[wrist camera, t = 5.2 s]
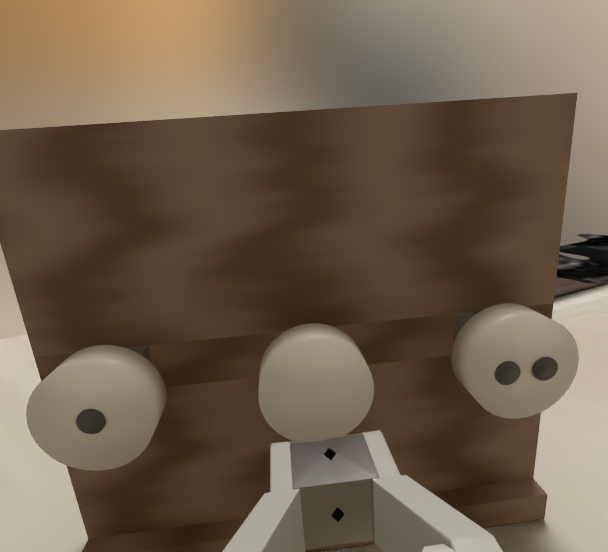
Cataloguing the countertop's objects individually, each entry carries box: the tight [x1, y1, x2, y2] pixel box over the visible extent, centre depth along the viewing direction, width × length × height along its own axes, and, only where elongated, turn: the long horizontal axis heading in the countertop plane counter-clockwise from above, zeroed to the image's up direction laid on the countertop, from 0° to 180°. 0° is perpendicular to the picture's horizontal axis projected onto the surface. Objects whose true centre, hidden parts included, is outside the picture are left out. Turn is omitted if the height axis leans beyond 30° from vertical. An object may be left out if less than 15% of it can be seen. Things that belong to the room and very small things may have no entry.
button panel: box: [0, 93, 577, 552], centre depth 19 cm, size 22×8×20 cm, turn 95°
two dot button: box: [451, 303, 579, 419], centre depth 16 cm, size 4×6×4 cm
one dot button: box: [26, 345, 166, 471], centre depth 15 cm, size 4×6×4 cm
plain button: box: [258, 323, 374, 441], centre depth 15 cm, size 4×6×4 cm
